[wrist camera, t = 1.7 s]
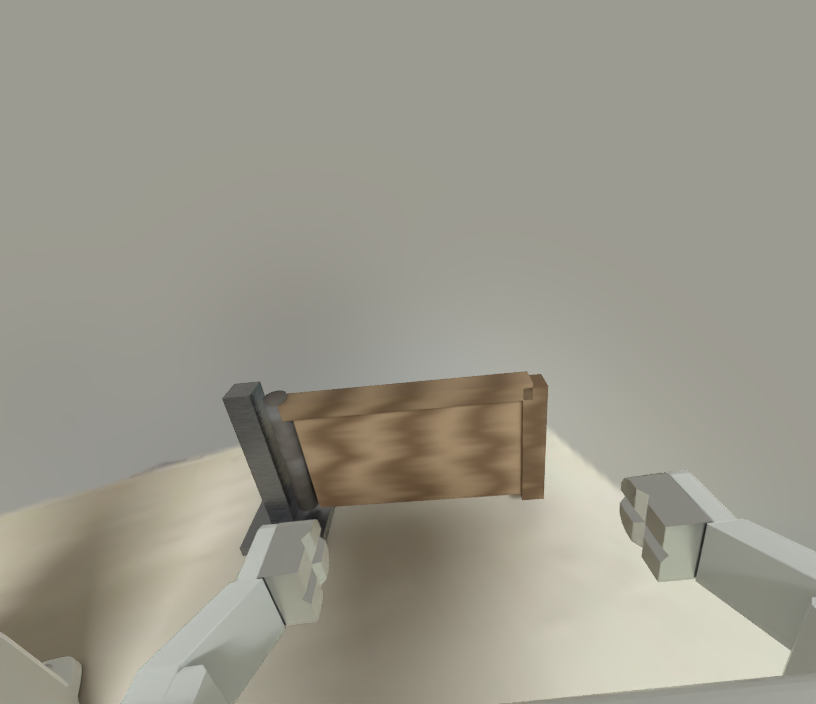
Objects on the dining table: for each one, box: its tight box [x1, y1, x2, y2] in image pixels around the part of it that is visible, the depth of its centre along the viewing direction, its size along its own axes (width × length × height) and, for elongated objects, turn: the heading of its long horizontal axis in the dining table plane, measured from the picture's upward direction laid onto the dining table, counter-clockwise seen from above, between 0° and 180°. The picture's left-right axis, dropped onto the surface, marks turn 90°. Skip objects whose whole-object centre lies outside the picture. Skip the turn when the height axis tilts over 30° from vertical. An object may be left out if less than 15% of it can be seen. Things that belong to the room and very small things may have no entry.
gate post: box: [222, 382, 335, 556], centre depth 37 cm, size 8×8×16 cm
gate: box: [263, 371, 548, 512], centre depth 35 cm, size 24×2×13 cm, turn 89°
